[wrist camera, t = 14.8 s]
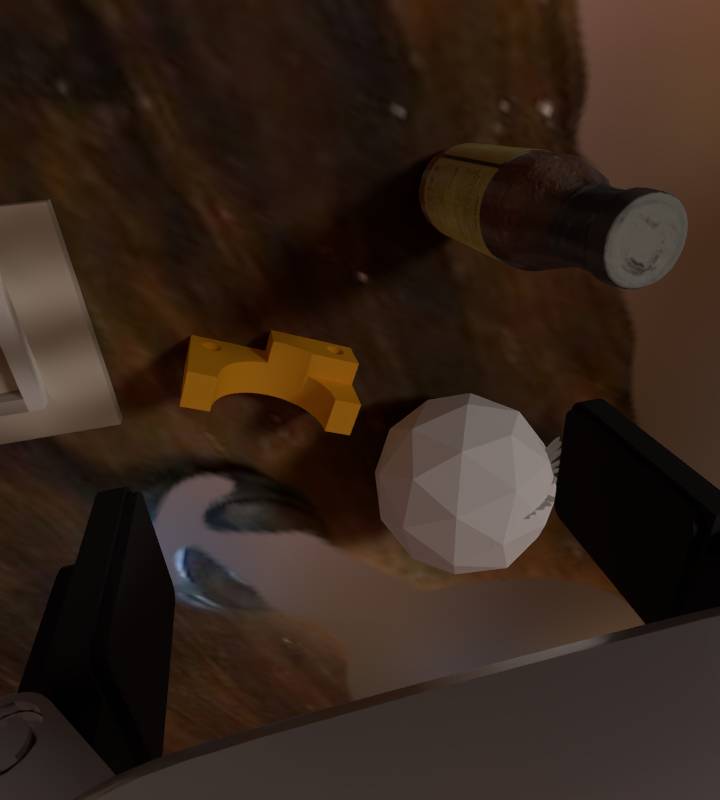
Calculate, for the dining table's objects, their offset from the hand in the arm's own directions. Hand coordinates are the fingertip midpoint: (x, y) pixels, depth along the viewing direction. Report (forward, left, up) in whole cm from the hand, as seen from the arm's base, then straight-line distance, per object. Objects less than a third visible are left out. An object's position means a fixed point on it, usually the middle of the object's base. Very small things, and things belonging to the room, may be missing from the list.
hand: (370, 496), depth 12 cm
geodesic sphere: (+20, +13, -31) cm, 38 cm away
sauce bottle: (-1, +14, -31) cm, 34 cm away
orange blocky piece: (+10, -1, -31) cm, 32 cm away
